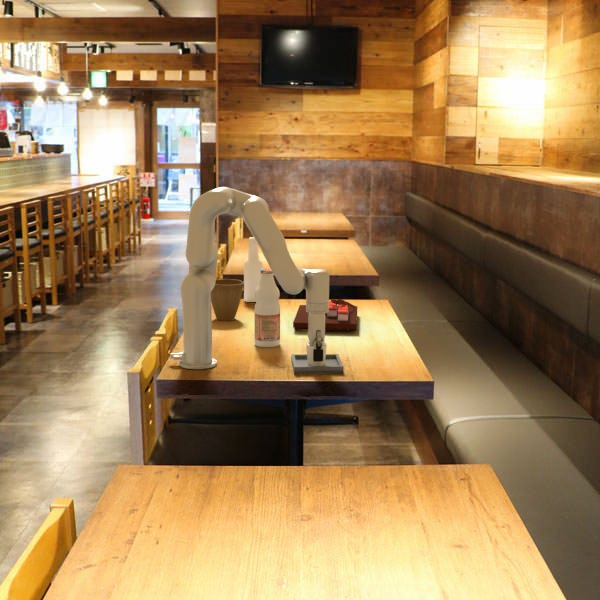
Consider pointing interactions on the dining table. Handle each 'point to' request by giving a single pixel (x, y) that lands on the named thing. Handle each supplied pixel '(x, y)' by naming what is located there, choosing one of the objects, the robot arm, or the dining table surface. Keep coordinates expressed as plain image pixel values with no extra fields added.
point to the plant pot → (226, 298)
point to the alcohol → (252, 271)
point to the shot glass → (310, 354)
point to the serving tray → (330, 367)
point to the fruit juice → (267, 311)
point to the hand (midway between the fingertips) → (316, 357)
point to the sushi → (331, 316)
